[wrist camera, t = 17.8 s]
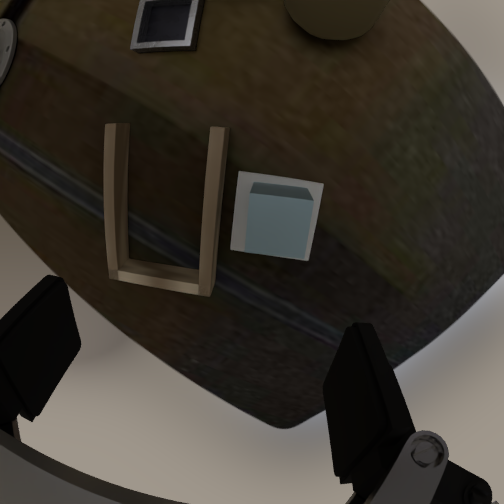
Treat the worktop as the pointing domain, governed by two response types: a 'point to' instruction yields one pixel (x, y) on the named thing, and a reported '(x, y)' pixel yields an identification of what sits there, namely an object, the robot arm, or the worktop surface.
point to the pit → (167, 25)
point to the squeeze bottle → (335, 16)
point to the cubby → (118, 218)
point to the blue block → (278, 220)
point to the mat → (242, 205)
